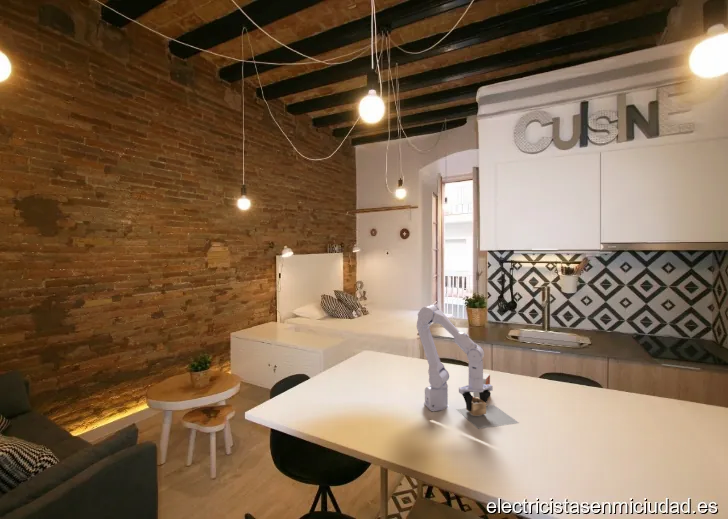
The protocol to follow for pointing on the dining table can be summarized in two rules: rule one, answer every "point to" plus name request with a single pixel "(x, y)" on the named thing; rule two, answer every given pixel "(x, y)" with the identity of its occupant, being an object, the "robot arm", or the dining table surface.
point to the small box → (485, 381)
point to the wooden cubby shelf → (477, 406)
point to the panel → (488, 417)
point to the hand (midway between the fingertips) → (475, 408)
